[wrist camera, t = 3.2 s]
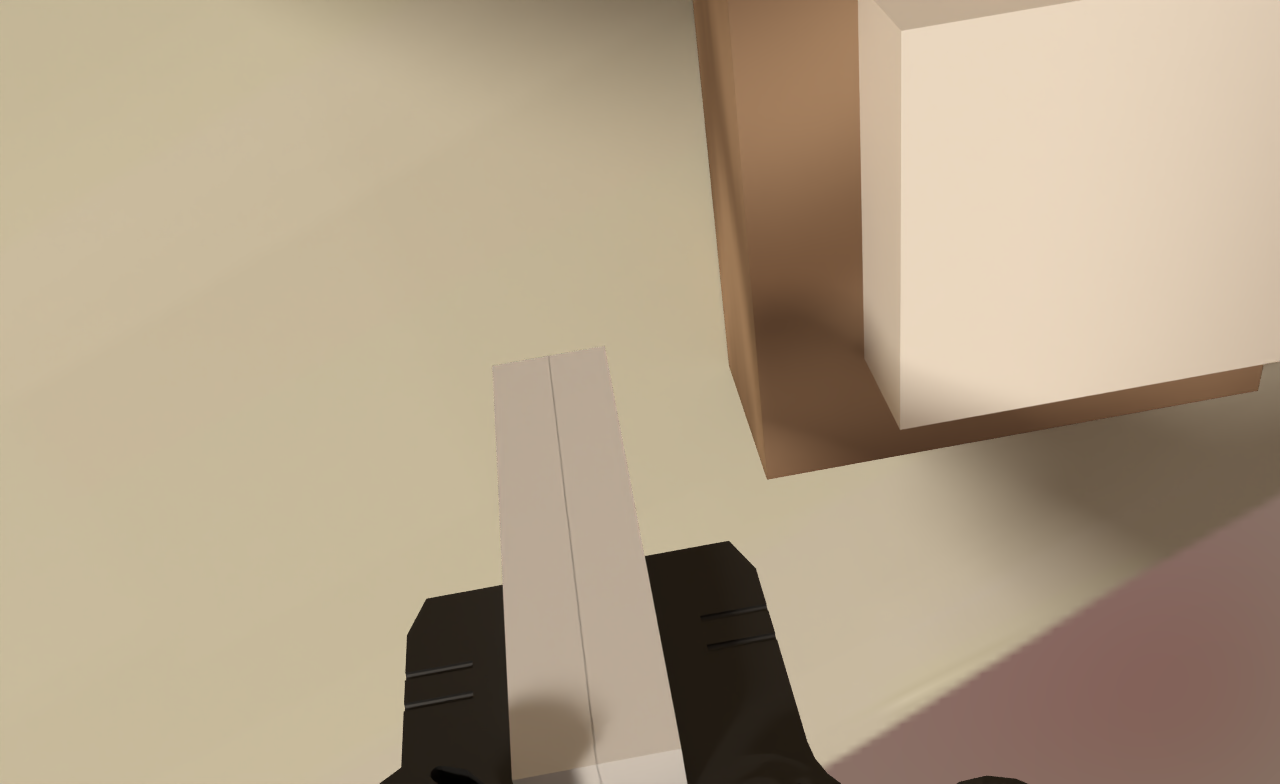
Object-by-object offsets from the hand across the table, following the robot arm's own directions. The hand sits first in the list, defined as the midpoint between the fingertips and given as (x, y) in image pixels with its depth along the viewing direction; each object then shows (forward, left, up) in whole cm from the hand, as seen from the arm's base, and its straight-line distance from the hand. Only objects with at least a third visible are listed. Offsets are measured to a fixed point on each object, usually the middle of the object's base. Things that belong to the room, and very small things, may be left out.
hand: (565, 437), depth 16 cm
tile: (0, +9, -5) cm, 10 cm away
